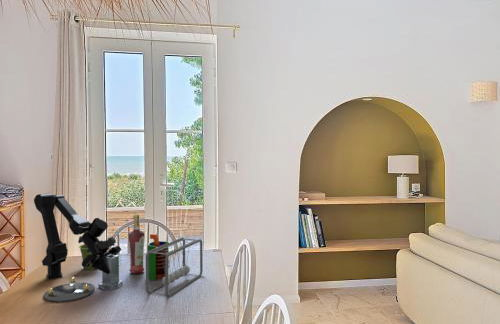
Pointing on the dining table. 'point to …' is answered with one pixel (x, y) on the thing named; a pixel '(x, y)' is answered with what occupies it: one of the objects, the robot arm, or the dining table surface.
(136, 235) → the liquor
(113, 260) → the square pipe section
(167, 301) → the dining table surface
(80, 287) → the disc
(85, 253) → the plant pot
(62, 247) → the robot arm
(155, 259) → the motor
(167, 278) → the newton's cradle
